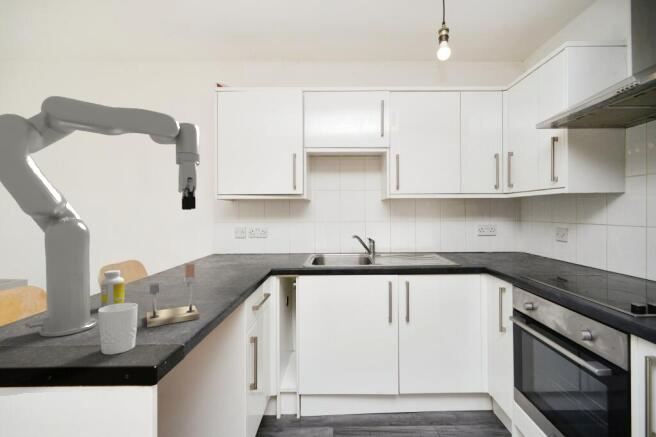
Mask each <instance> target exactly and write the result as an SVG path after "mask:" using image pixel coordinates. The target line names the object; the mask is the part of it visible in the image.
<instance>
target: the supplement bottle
mask: <svg viewBox="0 0 656 437" xmlns="http://www.w3.org/2000/svg"><path fill="white" fill-rule="evenodd" d="M103 273H104V274H103V275H104V278H103V279H102V280H101V282H100V291H101V292H100V293H101V295H100V297H101V299H100V300H101V302H100V303H101V308H102V307H105V306H108V305H113V304H119V303H125V279H124V278H123V277H121V270H120V269H118V270H107V271H104V272H103Z"/></svg>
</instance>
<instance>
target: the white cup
mask: <svg viewBox="0 0 656 437" xmlns="http://www.w3.org/2000/svg"><path fill="white" fill-rule="evenodd" d="M138 307H139V304H138V303H135V302H124V303H119V304H113V305H108V306H105V307H102V306H101V307H100V308H99V309H97V313H98V329H99V338H100V339H99V340H100V346H101V347H100V348H101V353H102V354H104V355H116V354H117V355H118V354H122V353H125V352H128V351H130V350H133V349H134V348H135V347H136V338H137V330H138V329H137V328H138V310H139V308H138Z"/></svg>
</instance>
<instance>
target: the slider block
mask: <svg viewBox="0 0 656 437" xmlns="http://www.w3.org/2000/svg"><path fill="white" fill-rule="evenodd" d="M195 281H196V276H195V264H194V262H187V263H185V262H184V275H183V282H185V283H186V282H189V286H188V306H189V310H192V306H193V286H192V282H195Z"/></svg>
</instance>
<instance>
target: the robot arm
mask: <svg viewBox="0 0 656 437" xmlns="http://www.w3.org/2000/svg"><path fill="white" fill-rule="evenodd" d="M76 131H81V132H87V133H93V134H99V135H103V136H120V135H125V134H141V135H148V136H149V138H150V139H151V140H152V141H153V142H154V143H155V144H159V145H175V164H176V165H178V189H177V191H178V193H179V194H180V193H181V194H182V195H181V209H182V210H184V211H185V210H186V211H191V210H195V209H196V207H197V206H196V201H197V200H196V191H197V186H198V185H197V184H198V183H197V177H198V175H197V166H200V164H201V163H200V128H199V127H198V126H197V125H196V124H194V123H191V122H190V123H189V122H180V123H179V122H178V121H177V119H175V117H173V116H171V115H168V114H167V113H162V112H158V111H154V110H149V109H143V108H138V107H137V108H133V107H114V106H109V105H103V104H98V103H95V102H94V103H93V102H89V101H84V100H80V99H76V98H75V99H74V98H71V97H65V96H60V95H50V96H49V97H46V98H45V99H44V100H43V101H42V102H41V106H40V112H39V113H37V114H35V115H33V116H30V117H29V118H26V117H25V116H22V115H18V114H15V113H4V114H0V183H1V185H2V186H3V187H4V188H5V189H6V191H7V192H8V193H9V195H10V196H11V197H12V198H13V199H14V201H15V202H16V204H17V205H18V207H19V208H20V209H21V211H22V212H23V213H24V214H25V215H28V216H30V218H32V220H33V221H34V222H35V223H36V225H37V226H38V227H39V228H40V229H41V231H42V232H43V233H44V253H45V276H46V277H45V283H46V289H45V290H46V315H44V316H42V317H41V318H31V319H26V321H25V327H26V328H29V329H32V328H38V327H41V328H40V329H39V331H38V332H39V335H40V336H41V337H61V336H69V335H73V334H78V333H81V332H84V331H87V330H90V329H92V328H94V327H96V326H97V324H98V320H97V318H94V317H91V291H90V290H91V281H90V280H91V279H90V278H91V275H90V274H91V273H90V270H91V269H90V266H91V265H90V241H91V240H90V239H91V238H90V236H91V235H90V229H89V226H87V223H85V222H84V220H82V218H81V217H80V216H79V215H78V213H77V212H76V211H75V209H74V207H72V205H71V204H70V203H69V202H68V200H67V199H66V198H65V196H64V195H63V193H62V192H61V191H60V190H58V189H57V188H56V187H55V186H54V185H53V184H52V182H50V180H48V178H47V177H46V175H45V174H44V173H43V171H42V170H41V169H40V167H39V166H38V165H37V163H36V162H35V161H34V160H33V158H32V156H31V155H32V154H34V153H37V152H39V151H41V150H44V149H45V148H48V147H49V146H51V145H53V144H55V143H56V142H59V141H61V140H62V139H64V138H66V137H68V136H70V135H71V134H73V133H74V132H76ZM30 154H31V155H30Z"/></svg>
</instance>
